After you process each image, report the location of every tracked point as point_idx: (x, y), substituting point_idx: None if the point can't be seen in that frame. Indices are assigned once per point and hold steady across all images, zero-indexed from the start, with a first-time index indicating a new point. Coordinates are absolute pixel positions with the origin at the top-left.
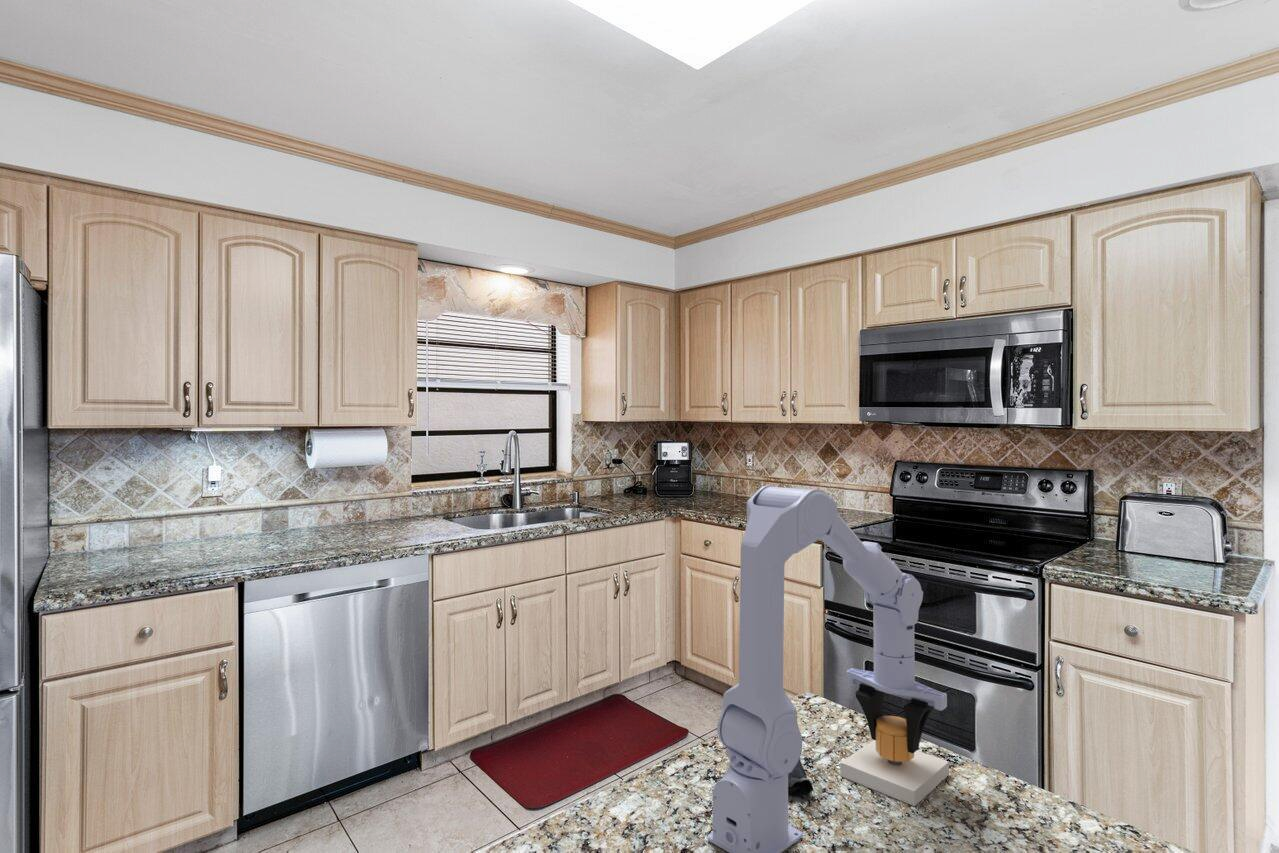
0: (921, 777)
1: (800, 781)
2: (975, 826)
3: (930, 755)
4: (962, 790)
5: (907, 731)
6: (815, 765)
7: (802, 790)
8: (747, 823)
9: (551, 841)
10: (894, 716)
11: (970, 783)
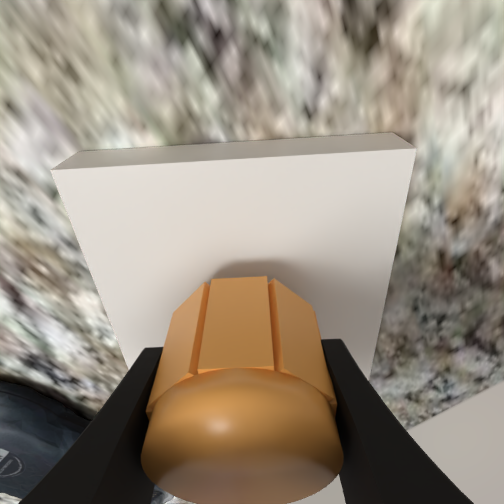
0: (358, 333)
1: (162, 494)
2: (500, 339)
3: (326, 156)
4: (454, 203)
5: (344, 494)
6: (74, 371)
7: None
8: None
9: None
10: (188, 417)
11: (479, 127)
